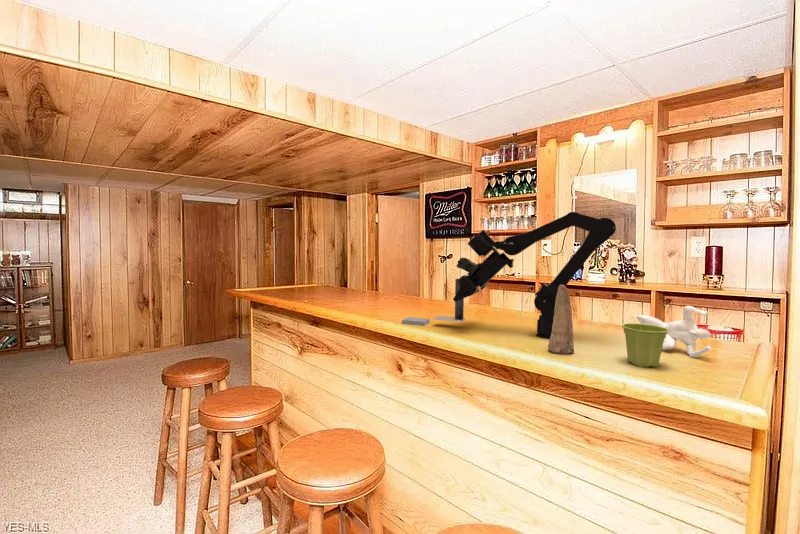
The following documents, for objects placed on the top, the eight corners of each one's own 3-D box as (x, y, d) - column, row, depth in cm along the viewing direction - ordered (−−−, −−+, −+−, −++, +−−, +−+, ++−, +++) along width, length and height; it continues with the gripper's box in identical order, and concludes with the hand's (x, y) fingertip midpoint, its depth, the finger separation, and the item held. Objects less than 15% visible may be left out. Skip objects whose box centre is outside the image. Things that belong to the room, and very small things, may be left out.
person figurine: (625, 307, 109) (707, 303, 97) (636, 312, 118) (712, 309, 106) (629, 356, 106) (715, 358, 94) (640, 357, 115) (719, 359, 103)
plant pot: (624, 355, 100) (625, 321, 99) (669, 363, 94) (671, 327, 93) (616, 363, 92) (618, 327, 92) (664, 372, 86) (666, 333, 86)
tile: (429, 318, 137) (408, 316, 140) (424, 322, 131) (402, 320, 134) (429, 323, 137) (408, 321, 140) (424, 327, 131) (401, 325, 134)
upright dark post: (465, 319, 131) (466, 278, 131) (461, 321, 127) (462, 279, 126) (437, 316, 135) (438, 277, 134) (433, 319, 130) (433, 278, 130)
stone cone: (543, 353, 103) (565, 359, 98) (541, 286, 100) (564, 289, 95) (557, 346, 107) (579, 352, 102) (556, 281, 104) (578, 284, 99)
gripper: (478, 248, 135) (446, 279, 140) (465, 249, 118) (429, 284, 123) (501, 272, 133) (468, 303, 138) (491, 276, 116) (454, 311, 120)
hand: (455, 299), depth 130 cm, fingers closed on upright dark post, 3 cm apart
